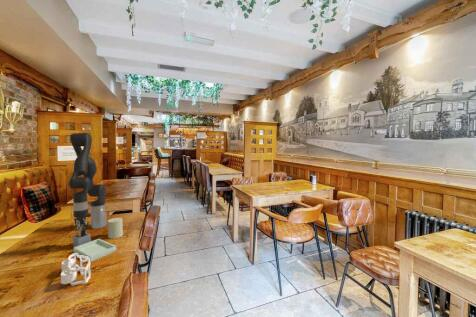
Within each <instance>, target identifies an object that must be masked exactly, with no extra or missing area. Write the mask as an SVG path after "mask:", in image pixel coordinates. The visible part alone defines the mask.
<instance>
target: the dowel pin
mask: <svg viewBox="0 0 476 317" xmlns="http://www.w3.org/2000/svg"><path fill="white" fill-rule="evenodd" d="M77 235H78V238H80V237H83V236H81V228H79V229H77Z"/></svg>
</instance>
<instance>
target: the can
mask: <svg viewBox="0 0 476 317" xmlns="http://www.w3.org/2000/svg"><path fill="white" fill-rule="evenodd" d="M123 222H124V220H123V218H122V217H112V218H109V219H108V220H107V232H108V233H107V238H108V239H111V240H112V239H119V238H121V237H122V236H124V231H123V227H124V225H123Z"/></svg>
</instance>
